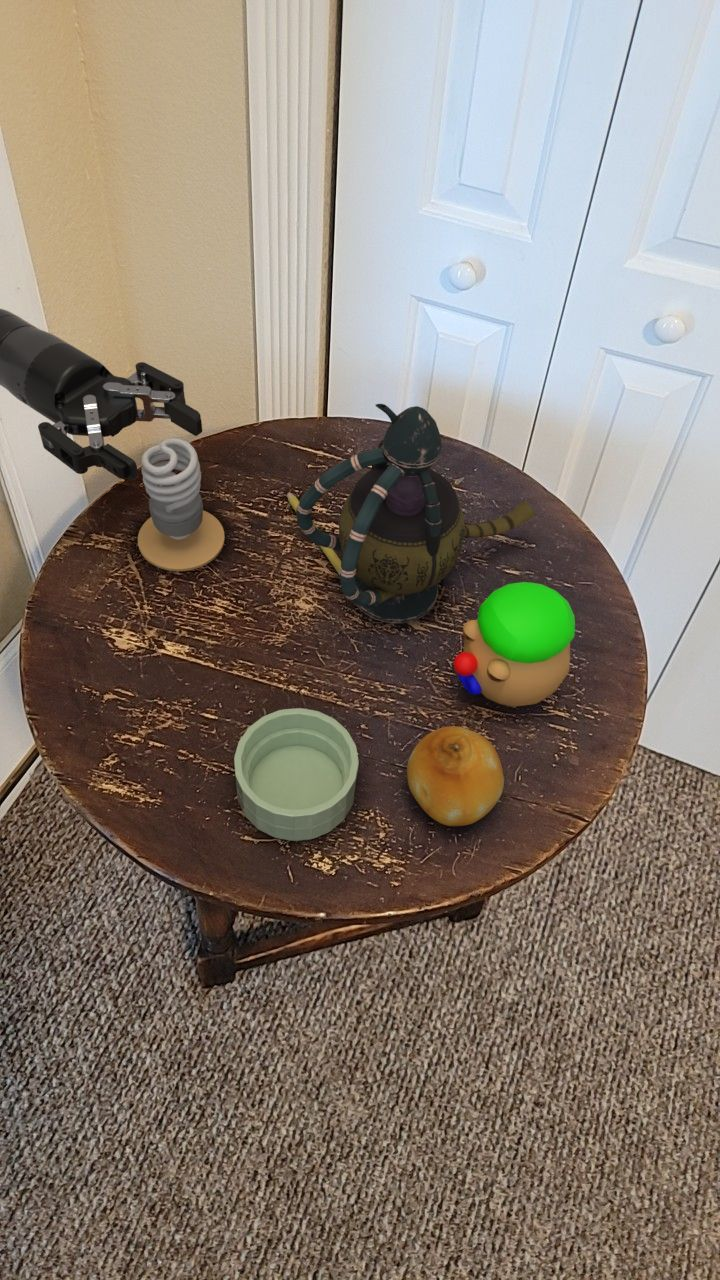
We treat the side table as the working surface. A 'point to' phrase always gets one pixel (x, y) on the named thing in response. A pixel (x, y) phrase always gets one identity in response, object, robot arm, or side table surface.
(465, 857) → the side table surface
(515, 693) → the figurine
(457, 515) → the teapot
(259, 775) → the bowl
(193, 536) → the coaster
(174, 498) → the light bulb
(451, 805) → the fruit
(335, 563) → the pencil
